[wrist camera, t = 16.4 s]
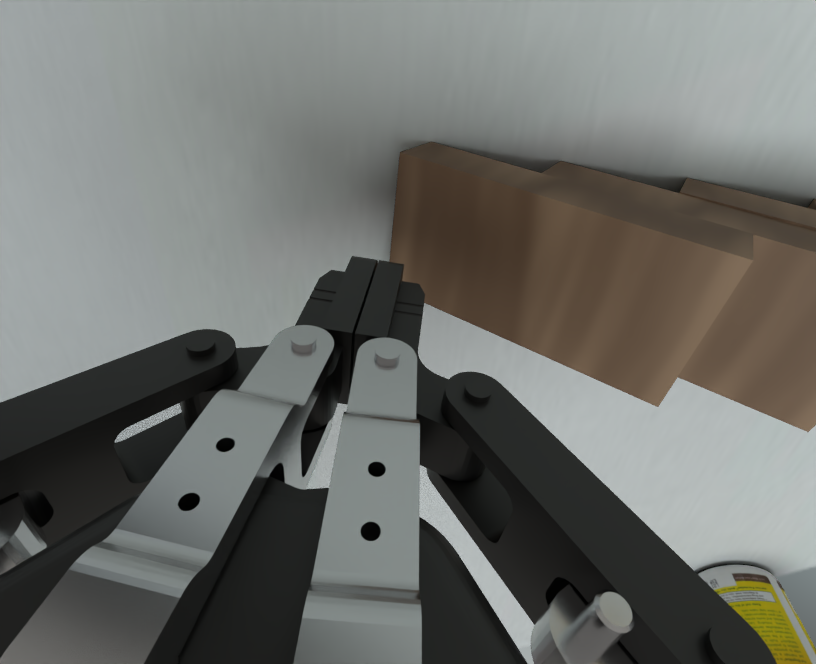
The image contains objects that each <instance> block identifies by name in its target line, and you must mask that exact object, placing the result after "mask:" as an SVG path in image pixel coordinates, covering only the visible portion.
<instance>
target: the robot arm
mask: <svg viewBox="0 0 816 664" xmlns="http://www.w3.org/2000/svg"><path fill="white" fill-rule="evenodd" d="M403 270H404V264H400V263H394V262H387V261H381V260H379V262H378V261H377V260H374V259H368V258H362V257H355V256H352V257H351V259H350V262H349V264H348V266H347V269H346V271H345V272H341V271H335V270H331V271H329V272H328V273H326V274H325V275H323V276H322V277H320V278H319V280H318V282H317V284H316V286H315V288H314V291H313V292H312V294H311V296H310V299H309V300H308V301H307V303H306V305H305V307H304V309H303V311H302V313H301V315H300V317H299V319H298V321H297V323H296V325H295V326H292V327H289V328H286V329H284V330H282V331H281V332H279V333H278V334H277V335H276V336H275V338H274V339H273V340H272V342H271V343H270V345H268V346H262V347H250V348H236V346H235V341H234V339H233V338H232V337H231V336H230V335H228V334H227V333H225V332H222V331H218V330H211V329H203V330H196V331H192V332H189V333H186V334H183V335H180V336H178V337H175V338H172V339H170V340H167V341H164V342H162V343H159V344H156V345H154V346H151V347H148V348H146V349H143V350H140V351H138V352H135V353H132V354H129V355H127V356H124V357H121V358H119V359H116V360H113V361H111V362H108V363H105V364H103V365H100V366H97V367H95V368H92V369H89V370H87V371H84V372H81V373H79V374H76V375H73V376H71V377H68V378H65V379H63V380H60V381H57V382H55V383H52V384H49V385H47V386H44V387H41V388H39V389H36V390H33V391H31V392H28V393H25V394H23V395H20V396H17V397H15V398H12V399H9V400H7V401H4V402H1V403H0V664H527V662H526V661H525V659H524V657H523V656H522V654H521V653H520V651H519V649H518V648H517V646H516V645H515V643H514V642H513V640H512V638H511V637H510V635H509V634H508V632H507V631H506V629H505V627H504V626H503V624H502V623H501V621H500V620H499V618H498V616H497V615H496V613H495V612H494V610H493V609H492V607H491V605H490V604H489V602H488V601H487V599H486V598H485V596H484V594H483V593H482V591H481V590H480V588H479V586H478V585H477V583H476V582H475V580H474V579H473V577H472V575H471V574H470V572H469V571H468V569H467V568H466V566H465V564H464V563H463V561H462V560H461V558H460V557H459V555H458V554H457V552H456V551H455V549H454V548H453V546H452V545H451V544H450V543H449V542H448V540H447V539H446V538H445V537H444V536H443V535H442V534H441V533H440V532H439V531H438V530H437V529H436V528H434V527H433V526H432V525H430V524H429V523H428V522H426V521H425V520H424V519H422V518H420V517H419V490H420V465H422V466H424V467H426V468H427V474H428V477H429V479H430V481H431V482H432V484H433V485H434V486H435V488H436V489H437V491H438V492H439V493H440V495H441V496H442V498H443V499H444V500H445V502H446V503H447V504H448V506H449V507H450V509H451V510H452V511H453V513H454V514H455V515H456V517H457V518H458V520H459V521H460V522H461V524H462V525H463V527H464V528H465V529H466V531H467V532H468V533H469V535H470V536H471V538H472V539H473V540H474V542H475V543H476V544H477V546H478V547H479V549H480V550H481V551H482V553H483V554H484V556H485V557H486V558H487V560H488V561H489V562H490V564H491V565H492V567H493V568H494V569H495V571H496V572H497V574H498V575H499V576H500V578H501V579H502V580H503V582H504V583H505V585H506V586H507V587H508V589H509V590H510V591H511V593H512V594H513V596H514V597H515V598H516V600H517V601H518V603H519V604H520V605H521V607H522V608H523V609H524V611H525V612H526V614H527V615H528V616H529V618H530V619H531V620H532V622H533V623H534V625H535V626H534V628H533V631H532V635H531V653H532V657H533V661H534V664H777V663H776V660H775V659H774V657H773V655H772V653H771V651H770V649H769V648H768V646H767V645H766V643H765V642H764V641H763V639H762V638H761V637H760V636H759V634H758V633H757V632H756V631H755V630H754V629H753V628H752V627H751V626H750V625H749V624H748V623H747V622H746V621H745V620H744V619H743V618H742V617H741V616H740V615H739V614H738V613H737V612H736V611H735V610H734V609H733V608H732V607H731V606H730V605H729V604H728V603H727V602H726V601H725V600H724V599H723V598H722V597H721V596H719V595H718V594H717V593H716V592H715V591H714V590H713V589H712V588H711V587H710V586H709V585H708V584H707V583H706V582H705V581H704V580H703V579H702V578H701V577H700V576H699V575H698V574H697V573H696V572H695V571H694V570H693V569H692V568H691V567H689V566H688V565H687V564H686V563H685V562H684V561H683V560H682V559H681V558H680V557H679V556H678V555H677V554H676V553H675V552H674V551H673V550H672V549H671V548H670V547H669V546H668V545H667V544H666V543H665V542H664V541H663V540H662V539H661V538H659V537H658V536H657V535H656V534H655V533H654V532H653V531H652V530H651V529H650V528H649V527H648V526H647V525H646V524H645V523H644V522H643V521H642V520H641V519H640V518H639V517H638V516H637V515H636V514H635V513H634V512H633V511H632V510H631V509H629V508H628V507H627V506H626V505H625V504H624V503H623V502H622V501H621V500H620V499H619V498H618V497H617V496H616V495H615V494H614V493H613V492H612V491H611V490H610V489H609V488H608V487H607V486H606V485H605V484H604V483H603V482H602V481H601V480H599V479H598V478H597V477H596V476H595V475H594V474H593V473H592V472H591V471H590V470H589V469H588V468H587V467H586V466H585V465H584V464H583V463H582V462H581V461H580V460H579V459H578V458H577V457H576V456H575V455H574V454H573V453H572V452H571V451H569V450H568V449H567V448H566V447H565V446H564V445H563V444H562V443H561V442H560V441H559V440H558V439H557V438H556V437H555V436H554V435H553V434H552V433H551V432H550V431H549V430H548V429H547V428H546V427H545V426H544V425H543V424H542V423H541V422H540V421H538V420H537V419H536V418H535V417H534V416H533V415H532V414H531V413H530V412H529V411H528V410H527V409H526V408H525V407H524V406H523V405H522V404H521V403H520V402H519V401H518V400H517V399H516V398H515V397H514V396H513V395H512V394H511V393H510V392H508V391H507V390H506V389H505V388H504V387H503V386H502V385H501V384H500V383H499V382H498V381H496V380H495V379H493V378H492V377H490V376H487V375H485V374H482V373H477V372H462V373H458V374H456V375H454V376H453V377H451V378H450V379H449V380H448V379H446V378H443V377H441V376H439V375H437V374H435V373H433V372H431V371H430V370H429V369H427V368H426V367H425V366H424V365H423V364H422V362H421V361H420V359H419V356H418V345H419V337H420V330H421V322H422V315H423V307H424V300H425V293H424V291H423V290H422V288H421V286H420V284H418V283H411V282H405V281H402V278H403ZM178 403H180V406H181V410H182V413H180V414H177V415H175V416H173V417H171V418H169V419H167V420H165V421H163V422H161V423H159V424H157V425H155V426H153V427H151V428H148V429H146V430H144V431H142V432H140V433H138V434H136V435H134V436H132V437H130V438H128V439H126V440H123V441H121V442H117V443H114V441H115V439H116V437H117V436H118V434H119V433H120V432H121V431H123V430H124V429H125V428H127V427H129V426H131V425H133V424H135V423H137V422H139V421H141V420H144V419H146V418H148V417H150V416H152V415H154V414H156V413H159V412H161V411H163V410H165V409H167V408H169V407H171V406H174V405H176V404H178ZM337 403H342V404H348V406H347V411H346V412H344V414H343V418H342V423H341V428H340V433H339V438H338V444H337V449H336V454H335V460H334V465H333V470H332V475H331V481H330V486H329V488H320V489H306V488H307V486H308V483H309V481H310V478H311V476H312V473H313V471H314V469H315V466H316V464H317V461H318V459H319V456H320V454H321V452H322V449H323V447H324V444H325V442H326V440H327V437H328V435H329V432H330V430H331V427H332V417H333V415H334V413H335V410H336V407H337Z"/></svg>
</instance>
